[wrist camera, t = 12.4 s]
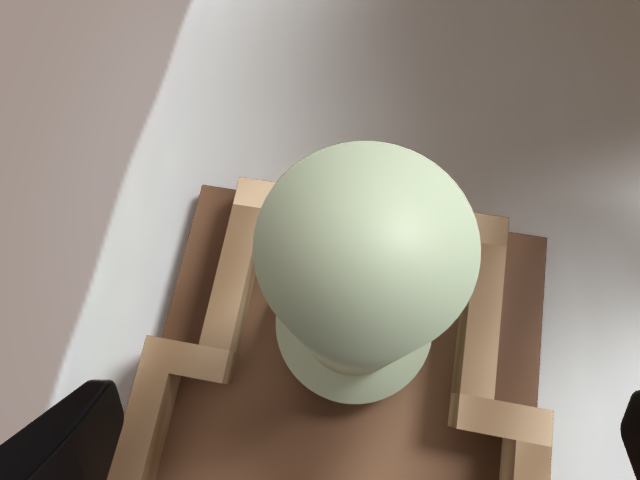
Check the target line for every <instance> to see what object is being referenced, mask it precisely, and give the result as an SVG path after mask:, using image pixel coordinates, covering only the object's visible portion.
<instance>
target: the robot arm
mask: <svg viewBox="0 0 640 480" xmlns="http://www.w3.org/2000/svg"><path fill="white" fill-rule="evenodd" d="M123 422H124V412H123V408H122V405H121V401H120V398H119V394H118V391H117V387H116V385H115V383H114V382H113V381H111V380H89V381H87V382H86V383H84V384H83V385H81V386H80V387H79V388H77V389H76V390H75V391H73V392H72V393H71V394H69V395H68V396H66V397H65V398H64V399H62V400H61V401H60V402H58V403H57V404H56V405H54V406H53V407H52V408H50V409H49V410H47V411H46V412H45V413H43V414H42V415H41V416H39V417H38V418H37V419H35V420H34V421H33V422H31V423H30V424H28V425H27V426H26V427H25V428H23V429H22V430H20V431H19V432H18V433H16V434H15V435H14V436H12V437H11V438H10V439H8V440H7V441H5V442H4V443H3V444H1V445H0V480H107V478H108V474H109V471H110V468H111V464H112V461H113V458H114V454H115V451H116V447H117V444H118V441H119V437H120V434H121V431H122V427H123ZM620 429H621V437H622V440H623V443H624V446H625V448H626V451H627V454H628V457H629V460H630V462H631V465H632V468H633V471H634V473H635V476H636V479H637V480H640V390H638V391H635V392H634V393H633V394H632V396H631V398H630V401H629V403H628V406H627V409H626V411H625V414H624V417H623V419H622V422H621V428H620Z"/></svg>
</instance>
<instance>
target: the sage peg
mask: <svg viewBox="0 0 640 480" xmlns="http://www.w3.org/2000/svg"><path fill="white" fill-rule="evenodd" d="M253 260H254V268H255V272H256V276H257V280H258V283H259V286H260V288H261V291H262V293H263V295H264V297H265V299H266V301H267V303H268V304H269V306H270V308H271V309H272V311H273V312H274V313H275V314H276V336H277V341H278V345H279V349H280V351H281V354H282V357H283V359H284V361H285V362H286V364H287V366H288V368H289V369H290V370H291V372H292V373H293V375H294V376H295V377H296V378H297V379H298V380H299V381H300V382H301V383H302V384H303V385H304V386H306V387H307V388H308V389H309V390H311V391H312V392H314V393H316V394H317V395H319V396H321V397H324V398H326V399H328V400H332V401H335V402H339V403H345V404H365V403H372V402H376V401H379V400H382V399H385V398H387V397H389V396H391V395H393V394H395V393H396V392H398V391H400V390H401V389H402V388H404V387H405V386H406V385H407V384H408V383H409V382H410V381H411V380H412V379H413V378H414V377H415V376H416V375H417V373H418V372H419V370H420V369H421V367H422V366H423V364H424V362H425V360H426V358H427V355H428V353H429V350H430V347H431V342H432V341H433V340H434V339H436V338H437V337H438V336H440V335H441V334H442V333H443V332H444V331H446V330H447V329H448V328H449V327H450V326H451V325H452V324H453V322H454V321H455V320H456V319H457V318H458V317H459V315H460V314H461V312H462V311H463V310H464V308H465V307H466V305H467V303H468V301H469V299H470V297H471V295H472V293H473V291H474V288H475V285H476V282H477V279H478V274H479V269H480V263H481V243H480V233H479V229H478V225H477V221H476V218H475V215H474V213H473V210H472V208H471V206H470V204H469V202H468V200H467V198H466V196H465V195H464V193H463V192H462V190H461V189H460V188H459V186H458V185H457V183H456V182H455V181H454V180H453V179H452V178H451V177H450V176H449V175H448V174H447V173H446V172H445V171H444V170H443V169H442V168H440V167H439V166H438V165H437V164H436V163H434V162H433V161H431V160H429V159H428V158H426V157H425V156H423V155H421V154H419V153H417V152H415V151H413V150H411V149H408V148H405V147H402V146H399V145H395V144H391V143H386V142H378V141H352V142H345V143H340V144H336V145H332V146H329V147H326V148H323V149H321V150H318V151H316V152H314V153H312V154H310V155H308V156H307V157H305V158H303V159H302V160H300V161H299V162H297V163H296V164H295V165H293V166H292V167H291V168H290V169H289V170H288V171H287V172H286V173H284V174H283V175H282V176H281V177H280V179H279V180H278V181H277V182H276V184H275V185H274V186H273V187H272V189H271V190H270V192H269V194H268V195H267V197H266V198H265V200H264V203H263V205H262V207H261V209H260V211H259V215H258V218H257V221H256V224H255V230H254V236H253Z"/></svg>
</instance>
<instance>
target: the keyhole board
mask: <svg viewBox="0 0 640 480" xmlns="http://www.w3.org/2000/svg"><path fill="white" fill-rule="evenodd" d="M275 184H276V182H270V181H263V180H257V179H250V178H243V177H239V181H238V185H237V190H233V189H227V188H220V187H214V186H207V185H202V188H201V192H200V195H199V199H198V203H197V207H196V210H195V214H194V218H193V222H192V225H191V229H190V233H189V237H188V241H187V244H186V248H185V252H184V256H183V259H182V263H181V267H180V271H179V274H178V278H177V282H176V286H175V290H174V293H173V297H172V301H171V305H170V308H169V312H168V316H167V320H166V323H165V327H164V331H163V335H162V338H160V337H154V336H149V335H146V339H145V343H144V346H143V350H142V354H141V357H140V361H139V364H138V368H137V372H136V375H135V379H134V383H133V386H132V390H131V394H130V397H129V401H128V405H127V408H126V412H125V416H124V422H123V427H122V431H121V434H120V437H119V441H118V444H117V447H116V451H115V454H114V458H113V461H112V464H111V468H110V471H109V474H108V478H107V480H550V476H551V456H552V436H553V416H554V411H552V410H547V409H542V408H537V400H538V383H539V366H540V349H541V332H542V315H543V298H544V281H545V264H546V247H547V238H545V237H538V236H532V235H525V234H519V233H512V232H508V225H509V218H508V217H501V216H494V215H488V214H481V213H475V212H473V213H474V215H475V218H476V221H477V225H478V229H479V233H480V243H481V263H480V269H479V274H478V279H477V282H476V285H475V288H474V291H473V293H472V295H471V297H470V299H469V301H468V303H467V305H466V307H465V308H464V310H463V311H462V312H461V314H460V315H459V317H458V318H457V319H456V320H455V321H454V322H453V324H452V325H451V326H450V327H449V328H448V329H447V330H446V331H444V332H443V333H442V334H441V335H440V336H438V337H437V338H436V339H434V340H433V341H432V342H431V347H430V350H429V353H428V355H427V358H426V360H425V362H424V364H423V366H422V367H421V369H420V370H419V372H418V373H417V375H416V376H415V377H414V378H413V379H412V380H411V381H410V382H409V383H408V384H407V385H406V386H405V387H404V388H402V389H401V390H400V391H398V392H396V393H395V394H393V395H391V396H389V397H387V398H385V399H382V400H379V401H376V402H372V403H365V404H345V403H339V402H335V401H332V400H328V399H326V398H324V397H321V396H319V395H317V394H316V393H314V392H312V391H311V390H309V389H308V388H307V387H306V386H304V385H303V384H302V383H301V382H300V381H299V380H298V379H297V378H296V377H295V376H294V375H293V373H292V372H291V370H290V369H289V368H288V366H287V364H286V362H285V361H284V359H283V357H282V354H281V351H280V349H279V345H278V341H277V336H276V314H275V313H274V312H273V311H272V309H271V308H270V306H269V304H268V303H267V301H266V299H265V297H264V295H263V293H262V291H261V288H260V286H259V283H258V280H257V276H256V272H255V268H254V260H253V236H254V230H255V224H256V221H257V218H258V215H259V211H260V209H261V207H262V205H263V203H264V200H265V198H266V197H267V195H268V194H269V192H270V190H271V189H272V187H273V186H274V185H275Z"/></svg>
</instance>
